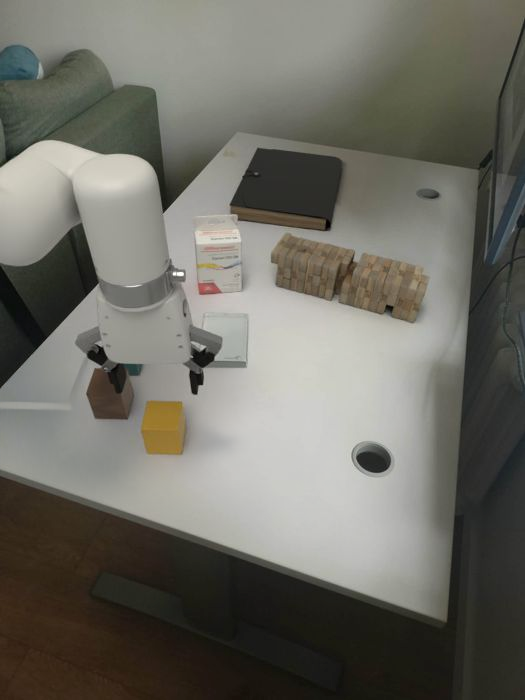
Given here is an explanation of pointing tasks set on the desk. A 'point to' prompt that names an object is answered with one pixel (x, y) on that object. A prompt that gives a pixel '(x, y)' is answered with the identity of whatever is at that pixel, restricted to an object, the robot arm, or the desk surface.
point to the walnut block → (109, 397)
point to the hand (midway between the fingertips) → (158, 386)
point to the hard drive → (228, 338)
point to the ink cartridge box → (218, 254)
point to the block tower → (349, 276)
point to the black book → (288, 189)
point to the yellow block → (164, 427)
